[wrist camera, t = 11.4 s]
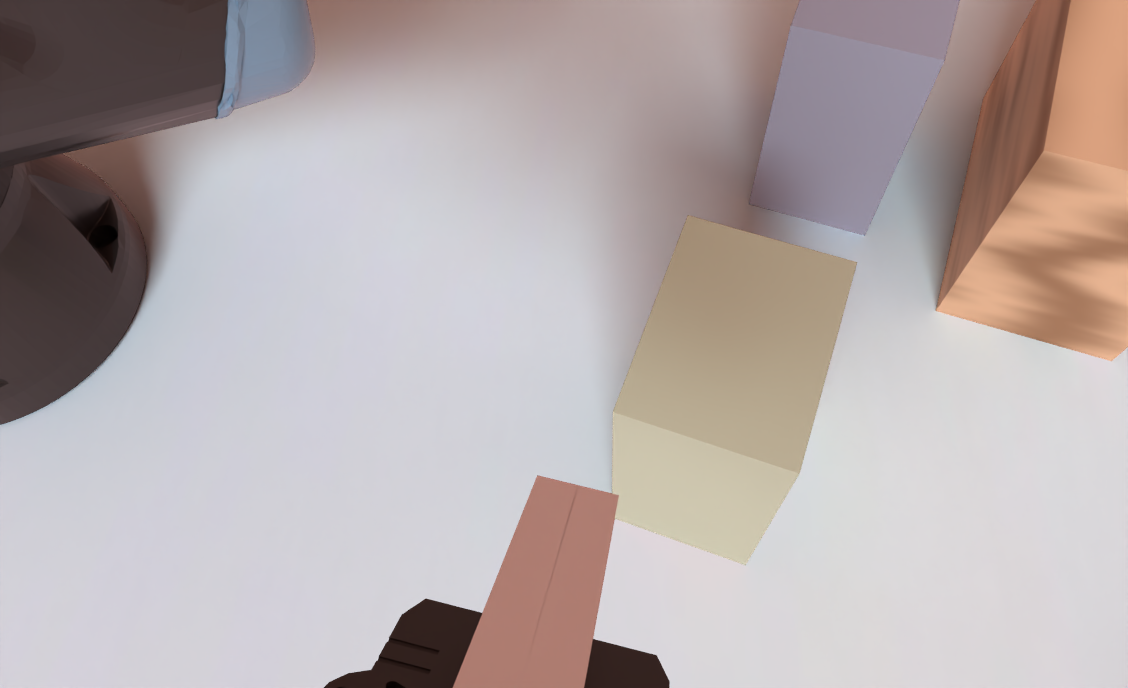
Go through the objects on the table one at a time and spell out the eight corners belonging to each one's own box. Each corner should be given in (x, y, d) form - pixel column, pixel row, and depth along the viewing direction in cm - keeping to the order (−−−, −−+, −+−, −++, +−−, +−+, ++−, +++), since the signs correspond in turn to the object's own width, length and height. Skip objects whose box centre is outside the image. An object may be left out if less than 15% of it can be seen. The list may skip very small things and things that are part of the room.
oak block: (935, 311, 43) (1043, 150, 32) (982, 99, 49) (1088, -97, 38) (1110, 361, 41) (1286, 209, 31) (1138, 136, 47) (1294, -58, 36)
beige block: (611, 517, 39) (612, 412, 28) (667, 362, 42) (687, 215, 31) (745, 565, 38) (799, 473, 27) (792, 401, 41) (857, 262, 30)
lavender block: (748, 203, 46) (790, 25, 35) (787, 92, 49) (836, -103, 39) (864, 235, 45) (944, 60, 34) (896, 118, 48) (978, -75, 37)
